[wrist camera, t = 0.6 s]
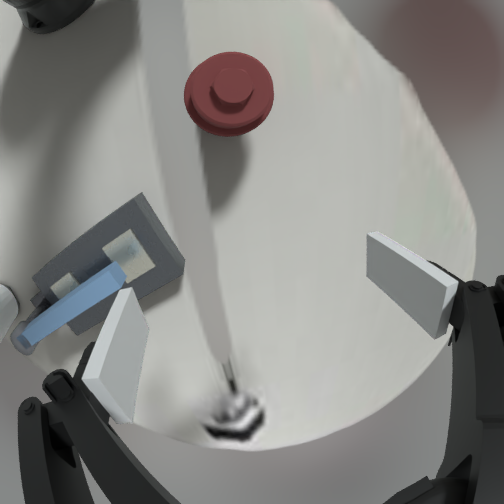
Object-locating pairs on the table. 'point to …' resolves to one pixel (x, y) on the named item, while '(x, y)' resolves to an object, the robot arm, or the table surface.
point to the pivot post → (38, 306)
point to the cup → (7, 309)
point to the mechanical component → (229, 94)
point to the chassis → (114, 259)
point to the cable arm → (68, 308)
